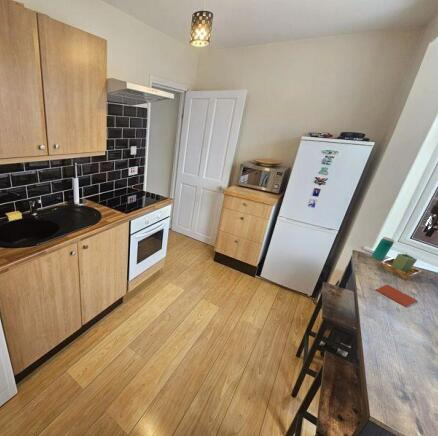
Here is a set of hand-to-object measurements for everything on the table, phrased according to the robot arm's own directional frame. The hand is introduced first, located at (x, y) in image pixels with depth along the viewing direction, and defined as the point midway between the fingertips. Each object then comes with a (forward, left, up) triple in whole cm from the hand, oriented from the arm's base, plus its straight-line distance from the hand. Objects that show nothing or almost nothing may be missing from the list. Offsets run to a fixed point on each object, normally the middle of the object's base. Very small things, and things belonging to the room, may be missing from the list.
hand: (426, 234), depth 123 cm
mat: (-9, +26, -28) cm, 39 cm away
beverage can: (+14, -8, -28) cm, 32 cm away
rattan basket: (+2, -5, -28) cm, 28 cm away
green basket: (+2, -5, -27) cm, 27 cm away
